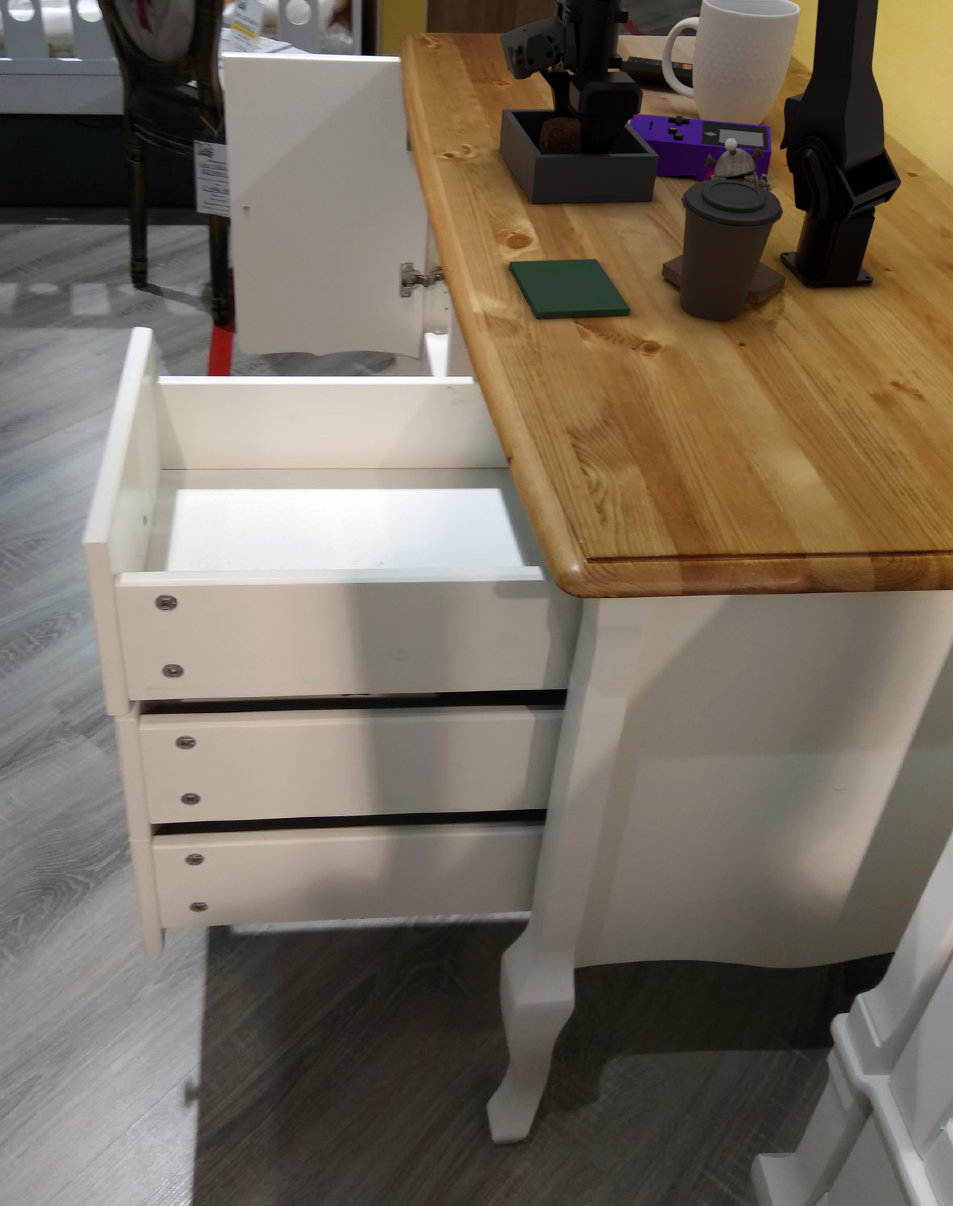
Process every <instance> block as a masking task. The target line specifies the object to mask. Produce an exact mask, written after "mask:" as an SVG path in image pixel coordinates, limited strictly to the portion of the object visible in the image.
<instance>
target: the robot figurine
mask: <svg viewBox="0 0 953 1206" xmlns="http://www.w3.org/2000/svg"><path fill="white" fill-rule="evenodd" d="M736 147H737V142H736V140H735V139H733V138H729V139H728V140H727V141H726V142H725V148H726V149H727V151H726V152H725V153H724V154H722V155H721V156H720V158H719V160H718V161H715V160H714V159H713V158H712V157H711V155H710V154H709V155H708V157H707V160H706V163H705V167H707V166H709V165H716V166H715V173H714V175H711V179H712V180H713V179H729V180H737V181H748V182H751V183H753V184H756V185H757V186H760V187H762V188H764V189H766V190H768V191H770V192H771V193H772V187H771V182H770V180H769V174H767V175H766V174H762V176H761V178H760V180H759V181H758V177H757V174H756V172H753V171H754V170H755V168H756V167H755V162H754V160H753V159H754V158H757V157H762V158H764V157H763V155H762V153H761V151H760V150H759V148H758V146H757V148H756V150H755V152H754V153H753V154H752V155H750V154H749V153H748V152H746V151H744V150H742V149H738V148H736ZM682 259H683V253H682V254H680V255H678V256H676V257H674V258H672V259H670V260H668V261H666V262H663V263H662V268H661V276H663V277H665V278H666V279H667V280H669V281H670V282H672V283H673V284H675V285H676V286H678V287H679V288H681V274H682ZM786 280H787V276H786V275H784V274H782V273H780V272H778V271H777V270H775V269H774V268H772V267H770V266H768V265H766V264H765V263H763V262H762V261H760V262H759V264H758V267H757V270H756V273H755V276H754V278H753V281H752V284H751V287H750V289H749V292H748V295H747V298H746V300H745V303H753V304H759V303H760V302H762V301H764V300H765V299H767V298H769V297H771V296H773V295H774V294H776V293H777V292H779V291H781V290H782V289H784V288H785V284H786Z"/></svg>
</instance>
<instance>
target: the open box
mask: <svg viewBox="0 0 953 1206" xmlns="http://www.w3.org/2000/svg"><path fill="white" fill-rule="evenodd" d="M554 118H555V113H554V108H547V109H545V108H544V109H542V108H539V109H538V108H536V109H535V108H534V109H531V108H529V109H528V108H527V109H526V108H525V109H524V108H523V109H522V108H521V109H520V108H515V109H514V108H512V109H510V108H508V109H505V108H504V109H501V120H500V121H501V123H500V137H499V148H498V149H499V151H498V153H499V155H500V156H501V157H502V160H503V161H504V163H505V164H506V166H507V167H508V169H509V170H510V172H511V173H512V175H513V176H514V178H515V180H516V182H518V184H519V186H520V188H521V189H522V191H523V192H524V194H525V195H526V197H527V199H528V200H529V202H530V203H531V204H564V203H567V204H568V203H569V204H570V203H571V204H572V203H613V202H614V203H617V202H652V201H653V197H654V191H655V185H656V179H657V175H656V173H657V167H658V160H659V155H658V154H657V153H656V152H655V151H654V150H653V149H652V148H651V147H650V146H649V145H648V144H647V143H646V141H645V140H644V139H643V138H642V137H641V136H640V135H639V134H638V133H637V132H636V131H635V130H634V128H633V127H632V126H631V125H630V122H629V121H628V122H627V123H626V125H625V126H624V128H623V129H622V130H621V132H620V133H619V135H618V136H617V138H616V139H615V141H614V142H613V144H612V145H611V147H610V154H559V155H541V153H540V152H539V151H538V147H539V139H540V134H541V131H542V127H543V124H544V122H545V121H547V120H550V119H554Z"/></svg>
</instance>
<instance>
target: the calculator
mask: <svg viewBox="0 0 953 1206" xmlns="http://www.w3.org/2000/svg"><path fill="white" fill-rule="evenodd" d="M671 64H672V70H673V73H674V75H675V77H676V78H677V80H678V81H679V82H680V83H681V84H683V85H685V86H687V87H689V88H693V63H687V62H679V61H672V60H671ZM619 72H625V73H626V74H628V75H629V76H630V77H631V78H632V79H633V80H634V81H644V82H651V83H659V84H667V85H669V84H668V83H667V81H666V79H665V77H664V74H663V69H662V59H657V58H656V59H655V58H649V57H648V58H647V57H642V56H641V57H639V56H633V55H629V56H628V58H627V60H622V66H621V69H619Z"/></svg>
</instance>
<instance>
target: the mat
mask: <svg viewBox="0 0 953 1206" xmlns="http://www.w3.org/2000/svg"><path fill="white" fill-rule="evenodd" d="M508 268H509V270H510V272H511V273H512V275H513V277H514V279H515V281H516V283H517V285H518V286H519V288H520V291H521V292H522V294H523V296H524V298H525V299H526V302H527V303H528V305H529V307H530V309H531V310H532V313H533V314H534V316H535V318H536V319H538V320H539V319H559V318H560V319H561V318H583V317H584V318H585V317H587V318H589V317H612V316H613V317H615V316H629V315H630V312H631V307H630V306H629V305H628V303H627V302H626V300H625V299H624V297H623V296H622V294H621V293H620V292H619V290H618V289H617V287H616V286H615V284H614V283H613V281H612V280H611V278H610V277H609V275H608V274H607V273H606V271H605V270H604V268H603V267H602V265H601V264H600V261H598V259H597V258H585V259H552V260H551V259H550V260H549V259H548V260H546V259H545V260H517V261H516V260H513V261H511V260H510V261H509V267H508Z"/></svg>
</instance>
